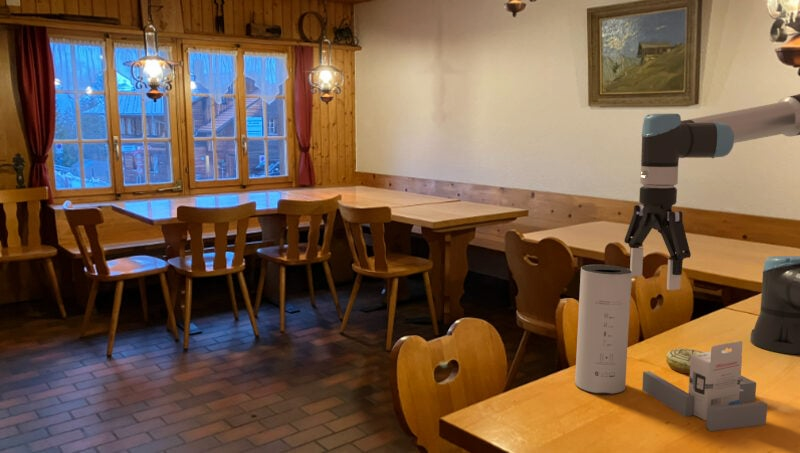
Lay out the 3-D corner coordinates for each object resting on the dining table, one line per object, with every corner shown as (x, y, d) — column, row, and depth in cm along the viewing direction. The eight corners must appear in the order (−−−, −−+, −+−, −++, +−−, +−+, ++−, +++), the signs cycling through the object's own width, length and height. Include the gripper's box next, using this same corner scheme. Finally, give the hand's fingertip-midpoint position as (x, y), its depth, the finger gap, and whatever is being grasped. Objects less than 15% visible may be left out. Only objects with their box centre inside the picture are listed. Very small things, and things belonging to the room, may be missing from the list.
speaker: (626, 380, 150) (632, 263, 146) (626, 398, 140) (633, 273, 136) (576, 375, 153) (580, 260, 149) (573, 392, 143) (578, 270, 140)
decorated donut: (711, 381, 150) (712, 364, 150) (660, 371, 156) (661, 355, 156) (719, 367, 159) (720, 351, 158) (671, 358, 165) (672, 343, 164)
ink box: (717, 405, 137) (723, 333, 135) (739, 414, 132) (744, 340, 130) (686, 412, 133) (690, 338, 131) (706, 422, 129) (711, 346, 127)
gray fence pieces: (717, 382, 149) (718, 364, 148) (792, 421, 129) (794, 401, 129) (642, 389, 144) (643, 371, 144) (708, 431, 125) (709, 410, 124)
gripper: (611, 182, 158) (607, 271, 162) (680, 191, 135) (674, 296, 138) (639, 181, 160) (636, 270, 163) (713, 190, 136) (706, 294, 139)
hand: (653, 282), depth 150 cm, fingers open, 13 cm apart
